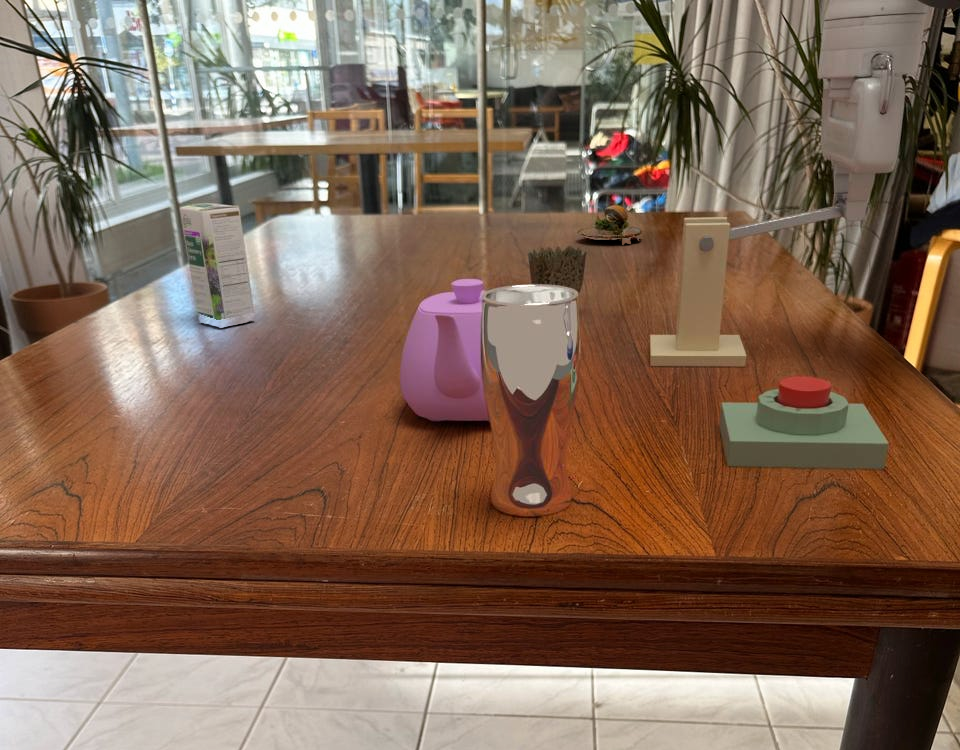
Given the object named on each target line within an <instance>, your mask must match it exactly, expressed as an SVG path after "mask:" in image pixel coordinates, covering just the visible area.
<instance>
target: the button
mask: <svg viewBox="0 0 960 750" xmlns="http://www.w3.org/2000/svg"><path fill="white" fill-rule="evenodd" d="M778 389H779V391H778V399H777V403H779V404H781V405H783V406H787V407H793V408H799V409H816V408H822V407H827V406H828V403H829V397H830V391H831V390H832V383H831V382H830V381H828V380H826V379H823V378H819V377H813V376H790V377H786V378H783V379H781V380H780V381H779V385H778Z"/></svg>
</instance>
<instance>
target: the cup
mask: <svg viewBox="0 0 960 750" xmlns="http://www.w3.org/2000/svg"><path fill="white" fill-rule="evenodd" d="M554 250H555V251H554ZM554 250H553V248H552V247H550V246H548V247H546V248H544V247H543V246H541V247H540V250H539V251H538V252H537V251H536V249H535V248H534V249H533V251H530V250H528V251H527V256H528V258H527V259H528V266H529V267H528V268H529V274H530V281H531V282H530V283H531V284H546V285H558V286H565V287H569V288H572V289H575V290H576V291H577V292H578V293H579V294H580V293H581V290H582V286H583V283H584V282H583V281H584V276H585V267H586V259H587V252H588V251H587V248H586V249H585V250H584V251H583V253H582V248H581V247H579V246H578V247H577V249H576V248H575V247H573V246H571V245H568V246H567V247H566V248H565V249H564V250H562V248H561V247H560V246H556V248H555V249H554Z"/></svg>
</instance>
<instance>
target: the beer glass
mask: <svg viewBox="0 0 960 750" xmlns="http://www.w3.org/2000/svg"><path fill="white" fill-rule="evenodd" d="M485 291H486V292H484V293H483V294H482V296H481V298H482V310H481V330H480V362H481V377H482V383H483V390H484V397H485V401H486V406H487V411H488V416H489V421H490V422H489V425H490V430H491V436H492V441H493V447H494V455H495V456H494V457H495V461H494V463H495V467H494V477H493V484H492V489H491V496H490V501H491V505H492V506H493V508H495V509H496V510H497V511H499V512H501V513H502V514H505V515H509V516H514V517H523V518H534V517H535V518H537V517H544V516H550V515H554V514H557V513H560V512H562V511H564V510H565V509H567V508H568V507H569V506H570V505H571V503H572V498H573V497H572V491H571V486H570V480H569V474H568V461H567V460H568V458H567V456H568V443H569V438H570V431H571V427H572V422H573V416H574V411H575V406H576V401H577V395H578V389H579V382H580V376H581V375H580V372H581V356H582V355H581V351H582V350H581V349H582V348H581V321H580V320H581V319H580V307H579V305H580V304H579V296H580V293H578V292H577V291H576V290H575V289H572V288H569V287H565V286H558V285H546V284H532V283H531V284H529V283H528V284H514V285H507V286H500V287H495V288H491V289H489V290H485Z"/></svg>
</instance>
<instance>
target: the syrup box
mask: <svg viewBox="0 0 960 750" xmlns="http://www.w3.org/2000/svg"><path fill="white" fill-rule="evenodd" d="M179 213H180V219H181V225H182V232H183V237H184V243H185V248H186V249H185V250H186V255H187V260H188V267H189V274H190V279H191V284H192V285H191V286H192V289H193V290H192V291H193V296H194V301H195V307H196V314H197V313H199V314H201V315H204V316H207V317H210V318H214V319H216V320H221V319H227V318H231V317H236V316H241V315H245V314H249V313H255V307H254V300H253V299H254V298H253V294H252V286H251V279H250V271H249V265H248V259H247V258H248V257H247V251H246V244H245V238H244V230H243V225H242V217H241V210H240V205H229V204H221V203H207V202H204V203H191V204H187V205H183V206H180V207H179Z"/></svg>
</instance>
